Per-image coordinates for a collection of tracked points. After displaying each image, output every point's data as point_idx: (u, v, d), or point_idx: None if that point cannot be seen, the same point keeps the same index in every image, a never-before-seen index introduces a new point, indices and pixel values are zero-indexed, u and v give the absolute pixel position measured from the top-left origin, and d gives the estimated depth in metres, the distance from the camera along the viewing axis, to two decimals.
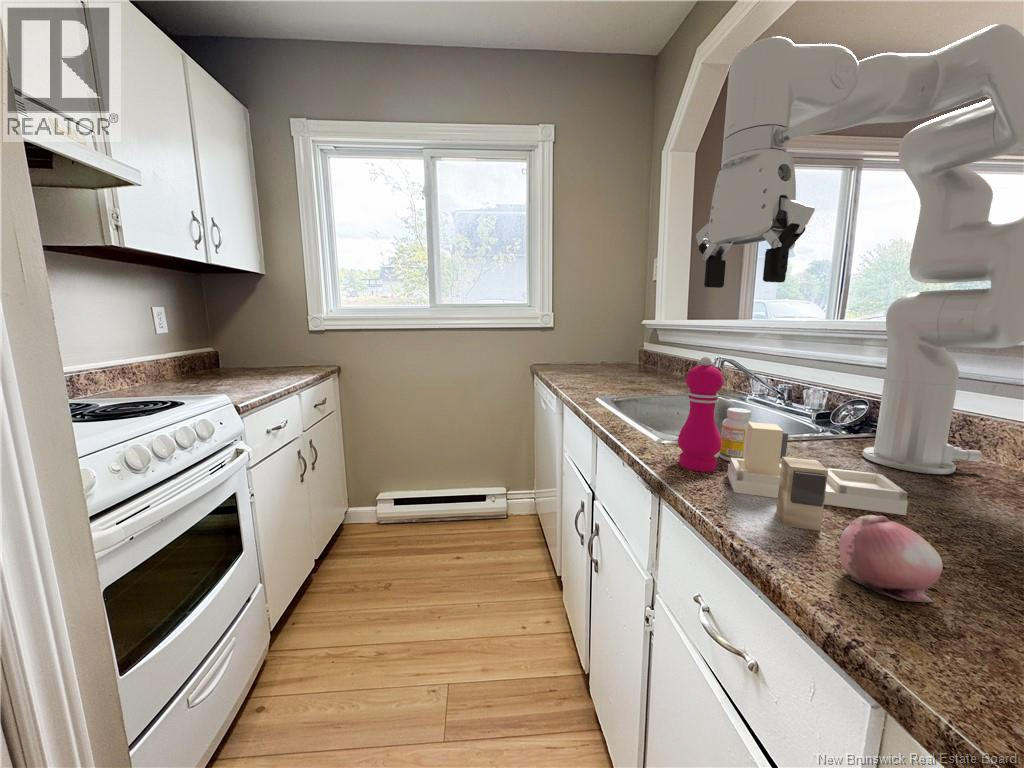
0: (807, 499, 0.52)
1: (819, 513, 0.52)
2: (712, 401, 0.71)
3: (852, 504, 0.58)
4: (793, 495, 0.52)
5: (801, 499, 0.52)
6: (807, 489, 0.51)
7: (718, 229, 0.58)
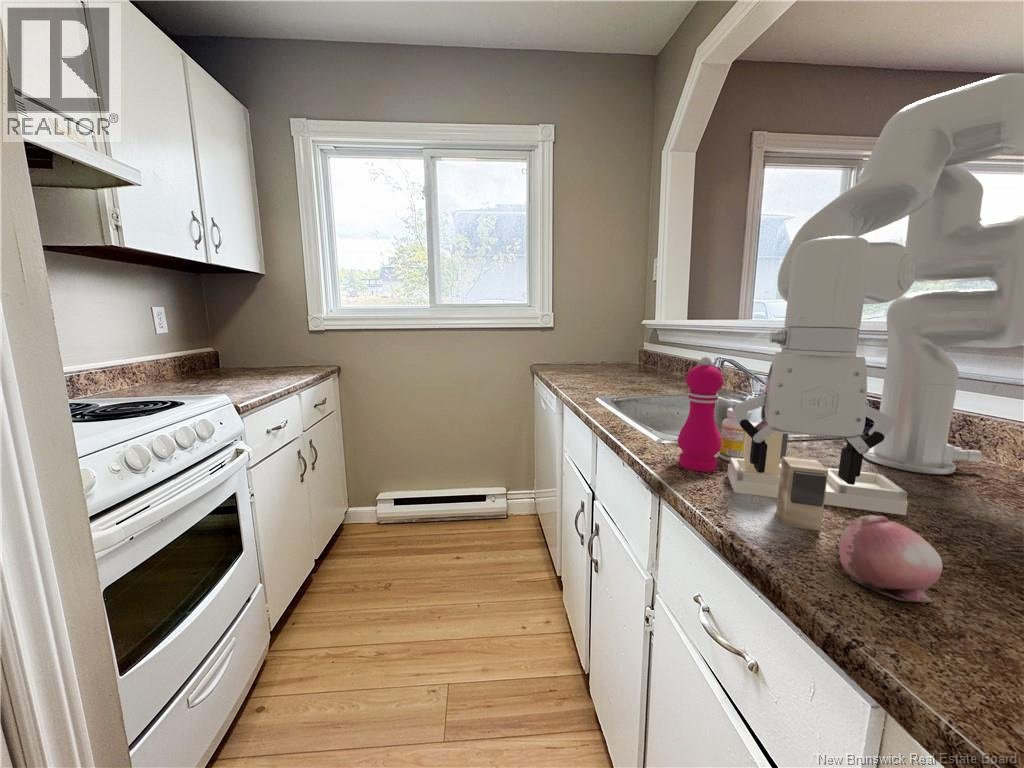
0: (807, 499, 0.52)
1: (819, 513, 0.52)
2: (712, 401, 0.71)
3: (852, 504, 0.58)
4: (793, 495, 0.52)
5: (801, 499, 0.52)
6: (807, 489, 0.51)
7: None
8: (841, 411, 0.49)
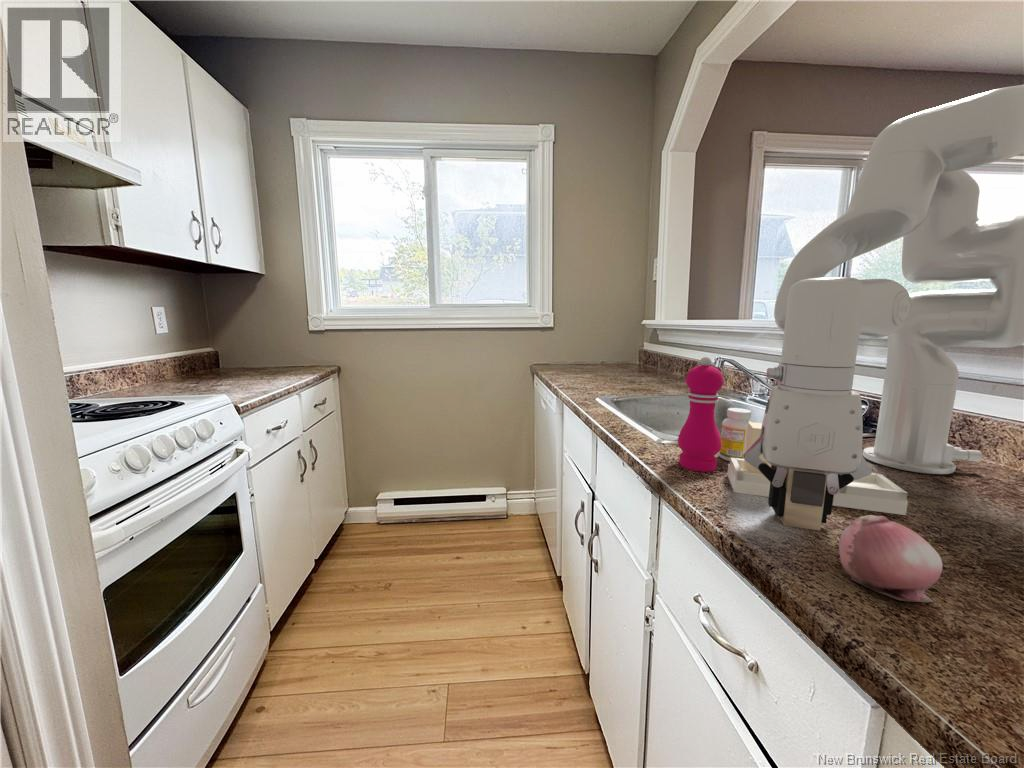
0: (807, 499, 0.51)
1: (819, 513, 0.52)
2: (712, 401, 0.71)
3: (852, 504, 0.58)
4: (793, 495, 0.52)
5: (801, 499, 0.52)
6: (807, 489, 0.51)
7: None
8: (837, 448, 0.50)
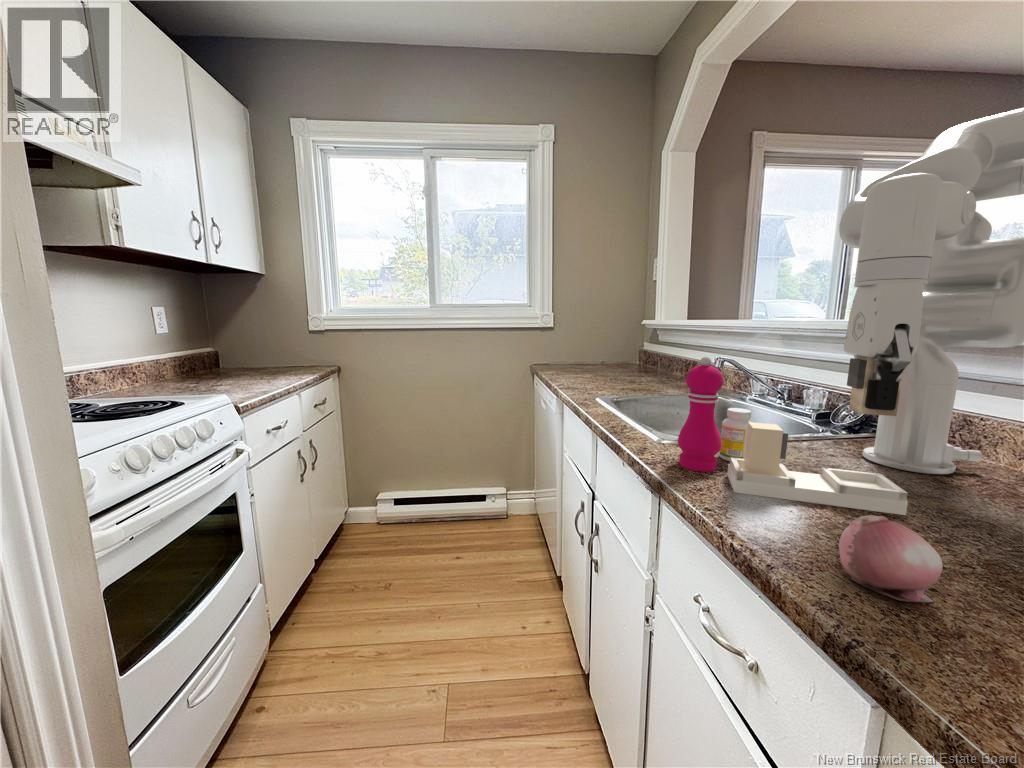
0: (851, 381, 0.60)
1: (861, 397, 0.58)
2: (712, 401, 0.71)
3: (852, 504, 0.58)
4: None
5: (849, 382, 0.60)
6: (852, 372, 0.59)
7: None
8: (865, 333, 0.56)
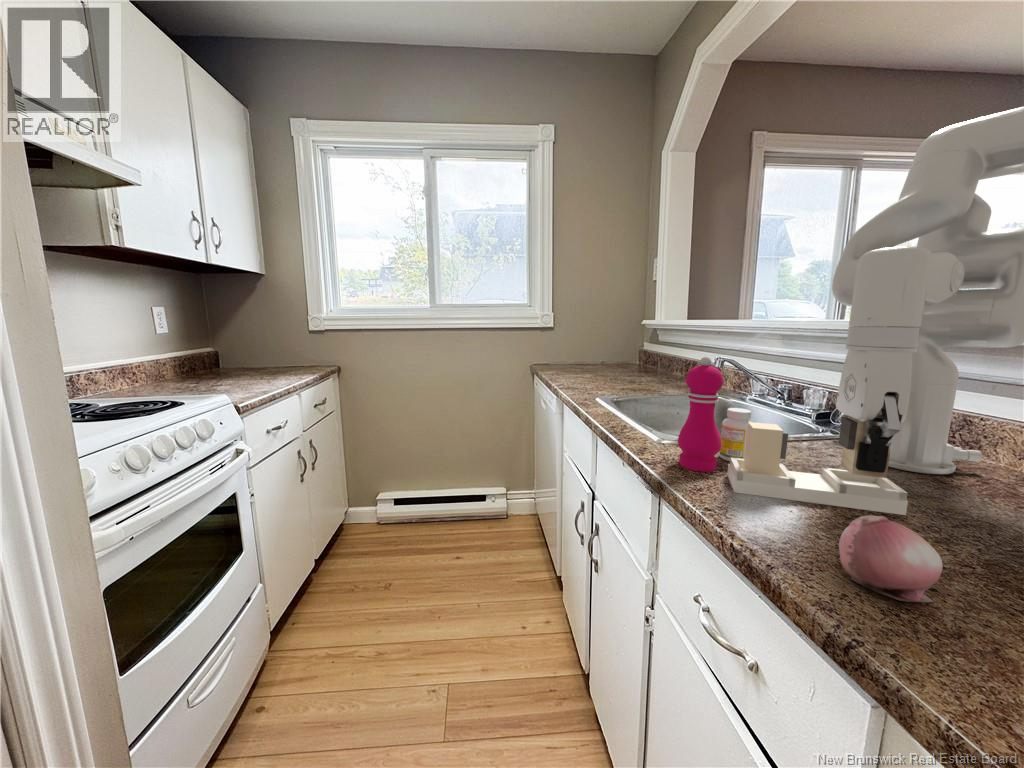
0: (843, 441, 0.61)
1: (852, 458, 0.59)
2: (712, 401, 0.71)
3: (852, 504, 0.58)
4: (839, 437, 0.62)
5: (841, 441, 0.61)
6: (844, 432, 0.61)
7: None
8: (856, 396, 0.58)
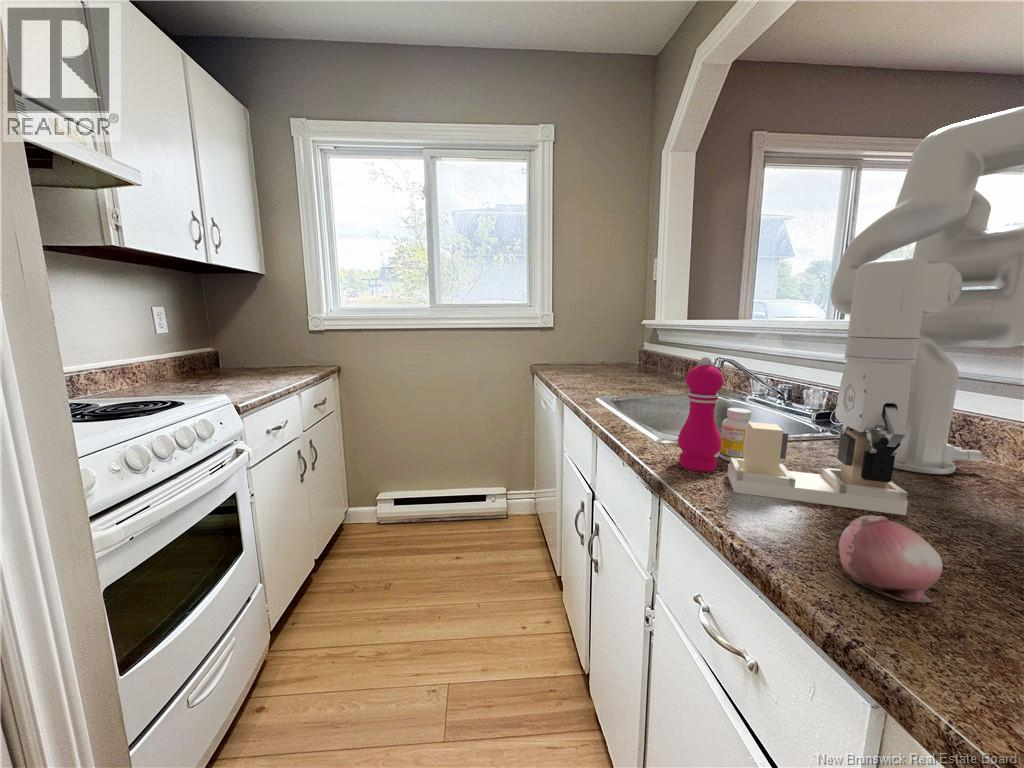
0: (841, 457, 0.61)
1: (851, 474, 0.60)
2: (712, 401, 0.71)
3: (852, 504, 0.58)
4: (838, 452, 0.63)
5: (840, 456, 0.62)
6: (842, 448, 0.61)
7: None
8: (855, 407, 0.58)
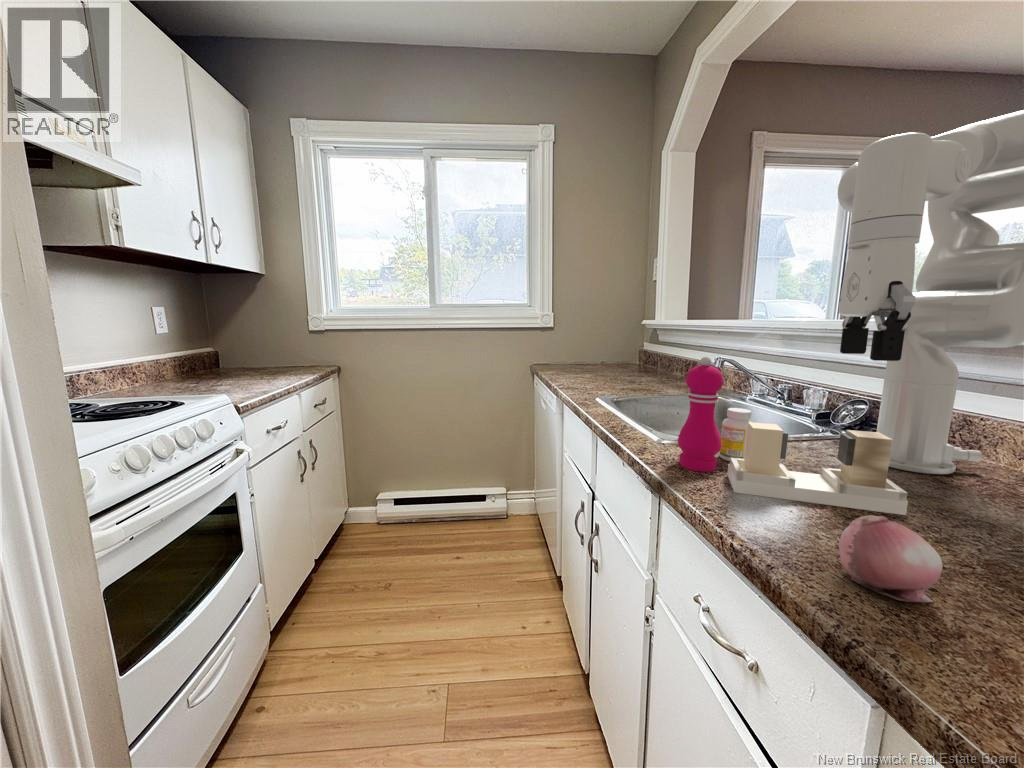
0: (841, 457, 0.61)
1: (851, 474, 0.60)
2: (712, 401, 0.71)
3: (852, 504, 0.58)
4: (838, 452, 0.63)
5: (840, 456, 0.62)
6: (842, 448, 0.61)
7: None
8: (860, 292, 0.58)
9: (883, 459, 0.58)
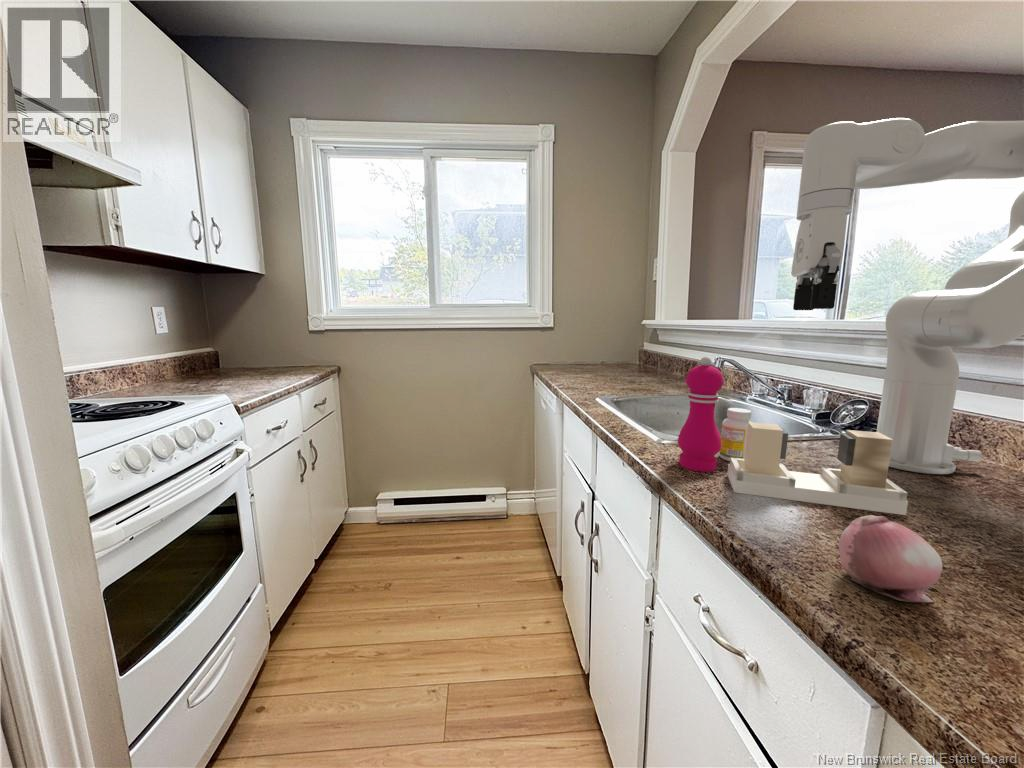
0: (841, 457, 0.61)
1: (851, 474, 0.60)
2: (712, 401, 0.71)
3: (852, 504, 0.58)
4: (838, 452, 0.63)
5: (840, 456, 0.62)
6: (842, 448, 0.61)
7: None
8: (803, 254, 0.70)
9: (883, 459, 0.58)
